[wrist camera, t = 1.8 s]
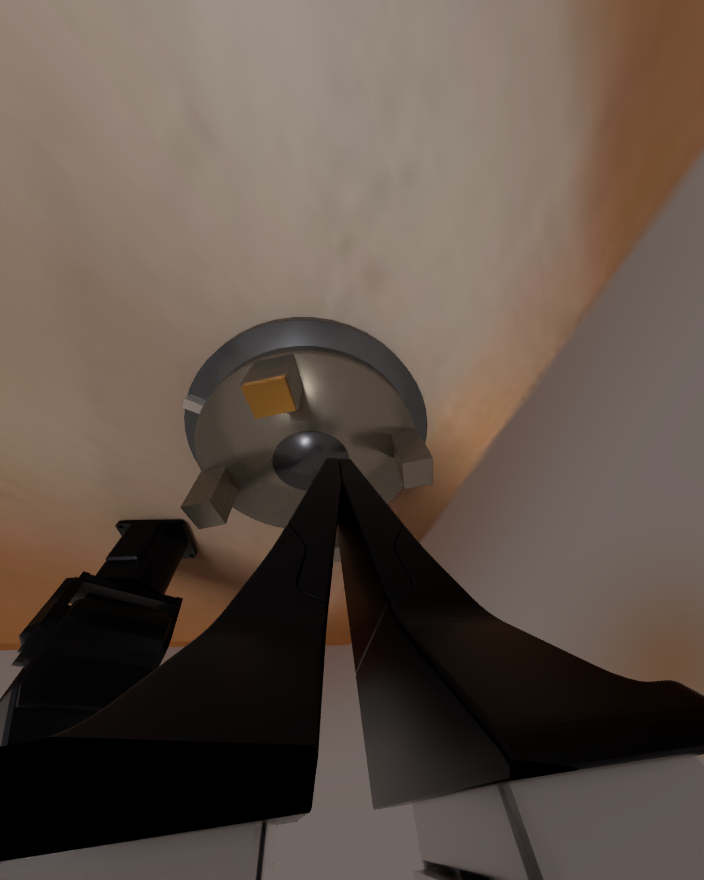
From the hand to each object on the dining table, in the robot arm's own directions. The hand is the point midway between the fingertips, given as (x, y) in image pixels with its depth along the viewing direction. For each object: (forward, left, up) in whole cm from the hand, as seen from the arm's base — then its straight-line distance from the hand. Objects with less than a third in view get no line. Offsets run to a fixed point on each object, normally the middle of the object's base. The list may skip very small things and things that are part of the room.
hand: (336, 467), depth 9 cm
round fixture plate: (-7, +1, -11) cm, 13 cm away
